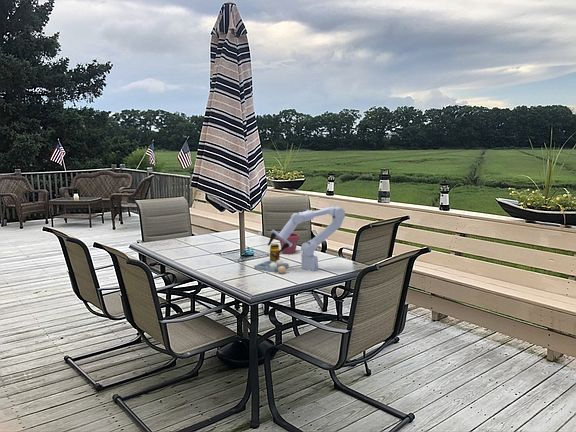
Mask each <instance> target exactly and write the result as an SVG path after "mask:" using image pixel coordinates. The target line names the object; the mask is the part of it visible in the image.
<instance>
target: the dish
mask: <svg viewBox="0 0 576 432" xmlns="http://www.w3.org/2000/svg"><path fill="white" fill-rule="evenodd" d="M289 273H290V272H289V271H287V272H285V273H283V274H281V273H280V275H283V276H284V275H287V274H289ZM274 274H276V275H279V272H274Z"/></svg>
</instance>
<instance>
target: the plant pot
mask: <svg viewBox="0 0 576 432" xmlns="http://www.w3.org/2000/svg"><path fill="white" fill-rule="evenodd" d="M299 235H300V234H298V233H296V232H295V233H294V232H292V233H291V235H290V236H289V237H288V239H287V240H288V241H289V242H290V243H292V244H293V245H292V246H291V247H290V246H289V247H287V248H285V249H284V250H283V251H281V253H282V254H284V255H292V254H295V253H296V251H297V245H298V241H299V240H300V236H299ZM278 237H279V236H278ZM278 237H277V238H278ZM280 238H281V237H280ZM280 238H278V241H279V243H280V244H279V246H280V249H281V248H282V247H283V245H284V244H286V243H285V242H283V241H282V240H283V239H282V238H281V239H282V240H281V239H280Z"/></svg>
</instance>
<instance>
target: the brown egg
mask: <svg viewBox="0 0 576 432" xmlns="http://www.w3.org/2000/svg"><path fill="white" fill-rule="evenodd" d="M277 273H278V274H280V275H281V274H285V273H287V268H285V267H284V266H280V267H279V268H278V272H277Z"/></svg>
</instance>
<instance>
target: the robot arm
mask: <svg viewBox="0 0 576 432" xmlns="http://www.w3.org/2000/svg"><path fill="white" fill-rule="evenodd" d="M326 215H329V216H331V217H332V220H331V221H332V222H331V223H330V224H329V225H327V226H326V227H325V228H324V229H323V230H322V231H320V232H319V233H317V235H315V236H314V237H313V238H312V239H310V240H308V241H306V242H304V243H302V244H301V246H300V248H301V251H302V253H301V269H302V270H307V271H308V270H309V271H313V272H314V271H317V270H319V259H318V256H316V255H314V254H315V251H316V250H317V249H318V248H319V245H321V244H322V243H323V242H325V240H326V239H328V238H329V237H330V236H331V235H332V234H334V233H335V232H336V231H337V230H338V229H340V228H341V227H342V224H343V222H344V218H346V211H345V209H344V208H342V207H340V206H338V205H335V206H327V207H324V208H321V209H317V210H314V211H313V210H311V209H306V211H302V212H301V211H299V212H298V213H297V212H294V213H293V214H291V215H290V219H288V221H287V222H286V224H285V225H284V226H283V228H282V229H281V230H280V232H279V233H278V231H276V230H275V229H271V231H270V232H271V234H270V238H269V242H268V243H267V246H271V245H272V244H271V243H272V242H273V241H274V240H275V239H276V237H277V238H280V237H281V238H282V239H283V240H282V239H281V238H280V239H281V240H282V241H283V242H285V243H286V244H284V245H283V247H282V248H281V247H280V249H279V252H278V254H279V253H282V251H283V250H284V249H285V248H287V247H289V246H290V247H291V246H292V245H293V244H292V243H290V242H289V241H288V240H287V239H288V237H289V236H290V235H291V233H294V230H295V229H296V228H297V226H298V225H300V224H301V223H303V222H307V221H308V222H309V221H311V220H312V221H313V220H314V219H315V218H317V217H320V216H326ZM278 236H279V237H278Z"/></svg>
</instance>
